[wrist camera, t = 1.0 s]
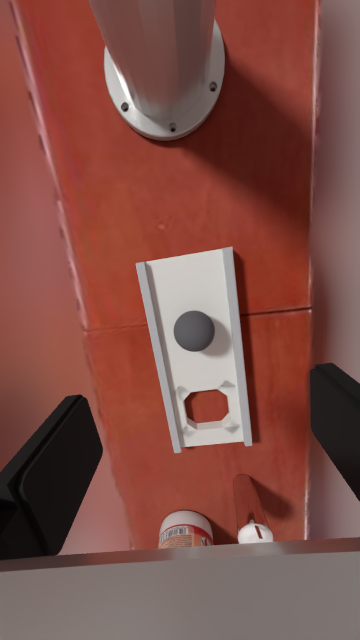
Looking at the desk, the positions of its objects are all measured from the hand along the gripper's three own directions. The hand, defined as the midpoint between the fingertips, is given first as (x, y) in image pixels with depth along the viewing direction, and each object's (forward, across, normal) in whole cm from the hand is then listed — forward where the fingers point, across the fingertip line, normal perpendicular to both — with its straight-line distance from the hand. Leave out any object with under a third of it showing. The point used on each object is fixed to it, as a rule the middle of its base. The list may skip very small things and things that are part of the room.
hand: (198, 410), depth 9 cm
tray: (+22, 0, +8) cm, 23 cm away
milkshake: (+21, -4, +31) cm, 38 cm away
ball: (+18, 0, +3) cm, 18 cm away
